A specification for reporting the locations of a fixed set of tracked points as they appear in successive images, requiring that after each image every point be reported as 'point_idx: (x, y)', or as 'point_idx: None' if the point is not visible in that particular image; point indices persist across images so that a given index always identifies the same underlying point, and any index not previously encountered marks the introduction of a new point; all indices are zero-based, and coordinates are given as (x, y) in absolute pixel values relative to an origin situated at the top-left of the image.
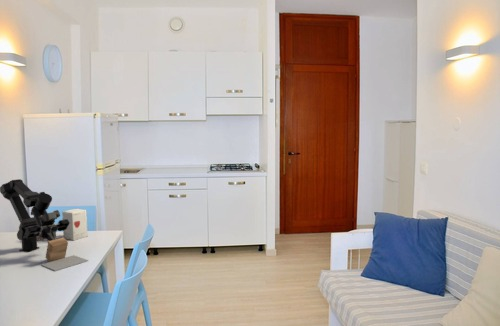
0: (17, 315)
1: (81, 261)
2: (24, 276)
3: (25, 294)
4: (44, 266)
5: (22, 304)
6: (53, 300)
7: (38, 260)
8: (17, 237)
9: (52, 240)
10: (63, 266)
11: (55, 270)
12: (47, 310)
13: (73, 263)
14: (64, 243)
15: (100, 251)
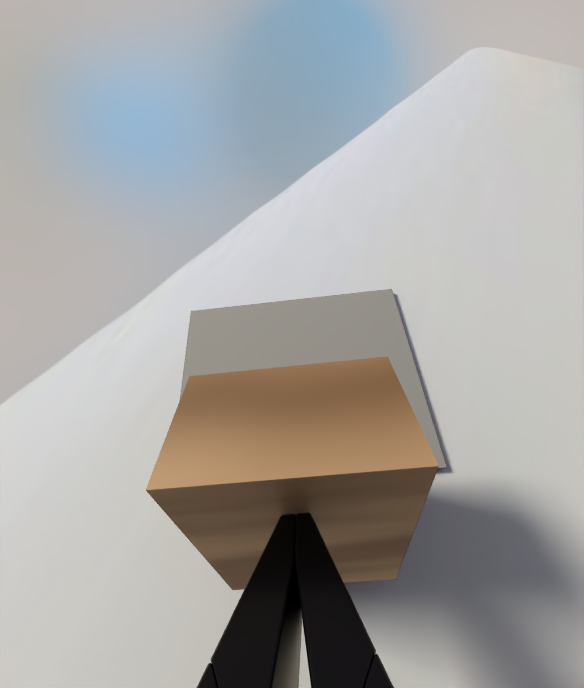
0: (565, 80)
1: (225, 318)
2: (568, 336)
3: (548, 159)
4: (428, 414)
5: (555, 114)
6: (461, 99)
7: (443, 678)
8: None
9: (361, 466)
10: (334, 312)
11: (390, 289)
12: (485, 73)
13: (272, 318)
14: (236, 374)
15: (16, 428)
